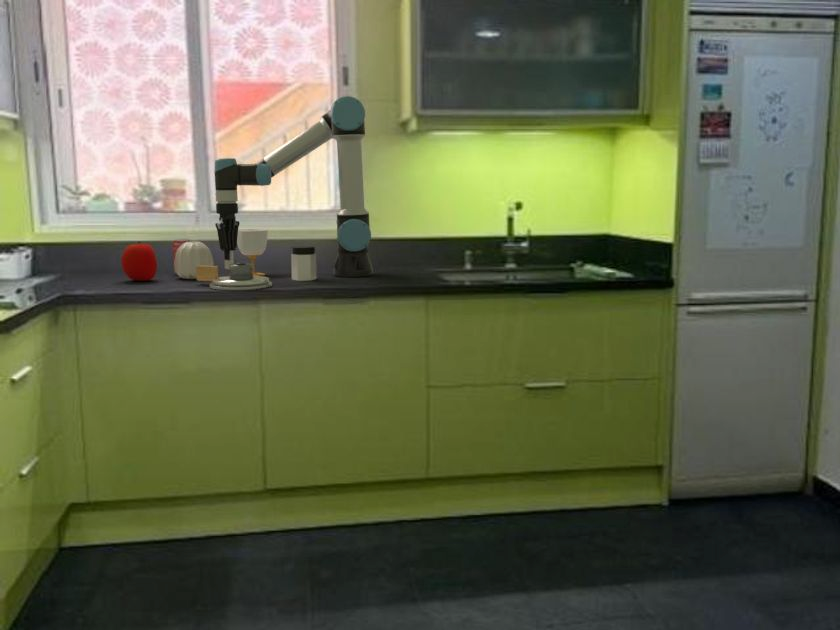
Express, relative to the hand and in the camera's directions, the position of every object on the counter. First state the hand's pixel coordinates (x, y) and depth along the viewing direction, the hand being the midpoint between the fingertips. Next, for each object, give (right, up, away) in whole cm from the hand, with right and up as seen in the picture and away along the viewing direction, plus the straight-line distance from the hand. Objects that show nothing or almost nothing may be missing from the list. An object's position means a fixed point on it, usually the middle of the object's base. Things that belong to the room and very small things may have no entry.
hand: (229, 268), depth 295 cm
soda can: (-22, -1, +21) cm, 31 cm away
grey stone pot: (+7, -4, -12) cm, 15 cm away
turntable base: (+7, -7, -12) cm, 16 cm away
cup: (+5, -1, +18) cm, 19 cm away
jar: (+26, -4, +6) cm, 27 cm away
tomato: (-32, -5, 0) cm, 32 cm away
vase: (-15, -3, +9) cm, 17 cm away
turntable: (+4, -5, -12) cm, 13 cm away
